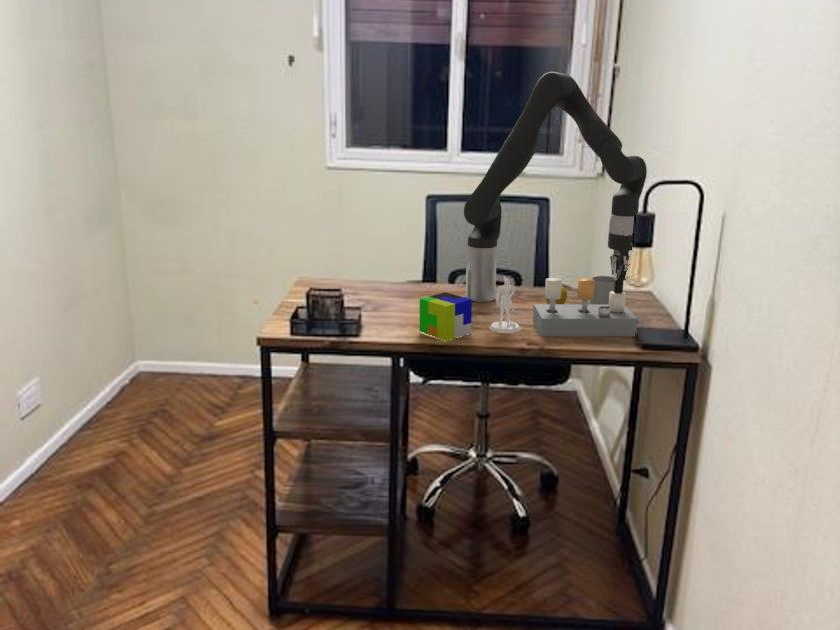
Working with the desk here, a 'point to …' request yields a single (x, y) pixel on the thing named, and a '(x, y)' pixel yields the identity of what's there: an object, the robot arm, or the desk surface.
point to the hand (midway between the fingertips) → (617, 292)
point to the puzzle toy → (445, 316)
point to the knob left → (553, 291)
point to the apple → (563, 297)
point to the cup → (602, 289)
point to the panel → (582, 321)
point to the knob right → (617, 302)
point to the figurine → (507, 303)
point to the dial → (604, 311)
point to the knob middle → (585, 291)
